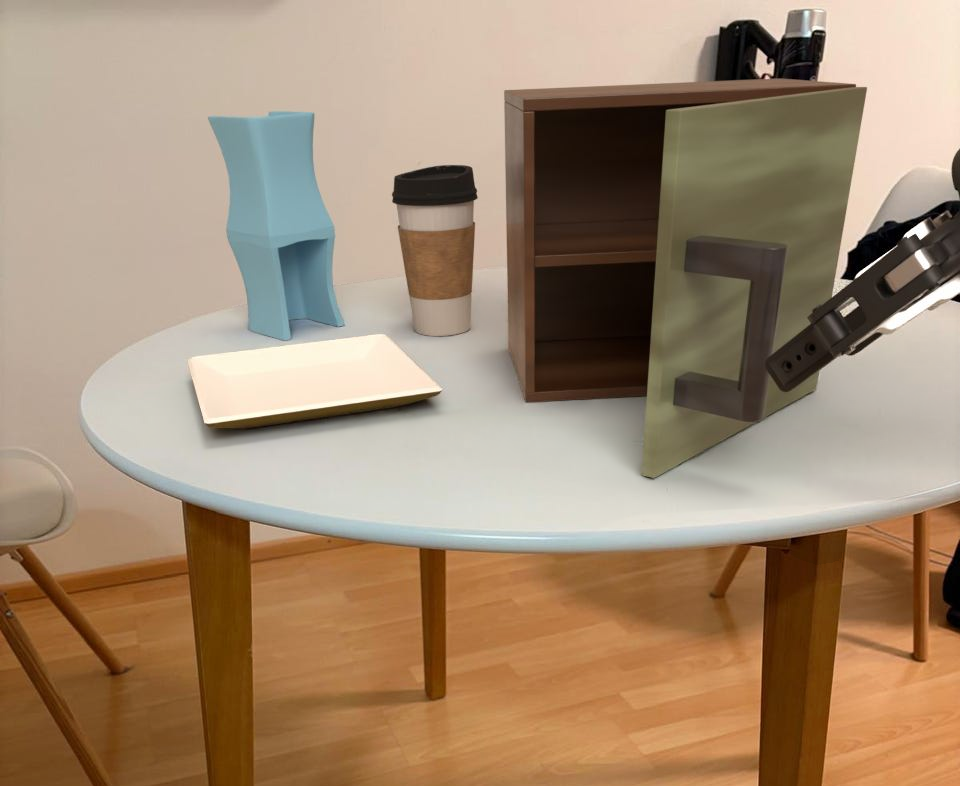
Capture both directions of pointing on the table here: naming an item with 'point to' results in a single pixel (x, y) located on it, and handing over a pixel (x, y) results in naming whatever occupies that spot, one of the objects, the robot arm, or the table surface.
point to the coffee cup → (437, 245)
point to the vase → (278, 220)
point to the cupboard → (593, 227)
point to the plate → (306, 381)
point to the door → (741, 258)
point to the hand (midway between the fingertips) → (809, 359)
